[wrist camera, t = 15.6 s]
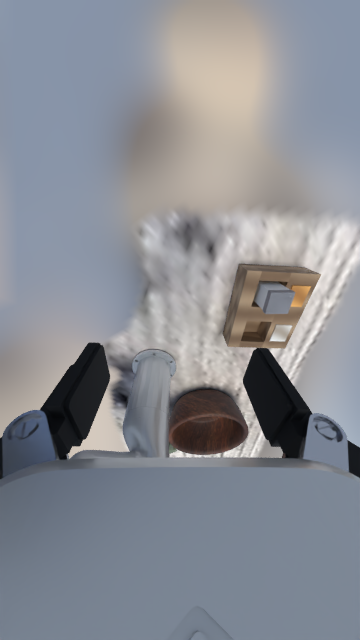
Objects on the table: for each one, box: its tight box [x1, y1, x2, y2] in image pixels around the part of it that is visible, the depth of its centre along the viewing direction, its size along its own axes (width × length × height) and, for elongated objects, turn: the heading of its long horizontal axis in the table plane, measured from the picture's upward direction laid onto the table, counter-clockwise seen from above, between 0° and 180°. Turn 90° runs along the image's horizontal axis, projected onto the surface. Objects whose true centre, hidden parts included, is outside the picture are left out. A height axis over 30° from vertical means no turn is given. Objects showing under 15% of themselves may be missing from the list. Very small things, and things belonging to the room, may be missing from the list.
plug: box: [253, 280, 296, 314], centre depth 34 cm, size 4×4×8 cm
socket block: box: [223, 264, 321, 348], centre depth 38 cm, size 18×14×5 cm
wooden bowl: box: [169, 389, 248, 455], centre depth 57 cm, size 25×25×10 cm
